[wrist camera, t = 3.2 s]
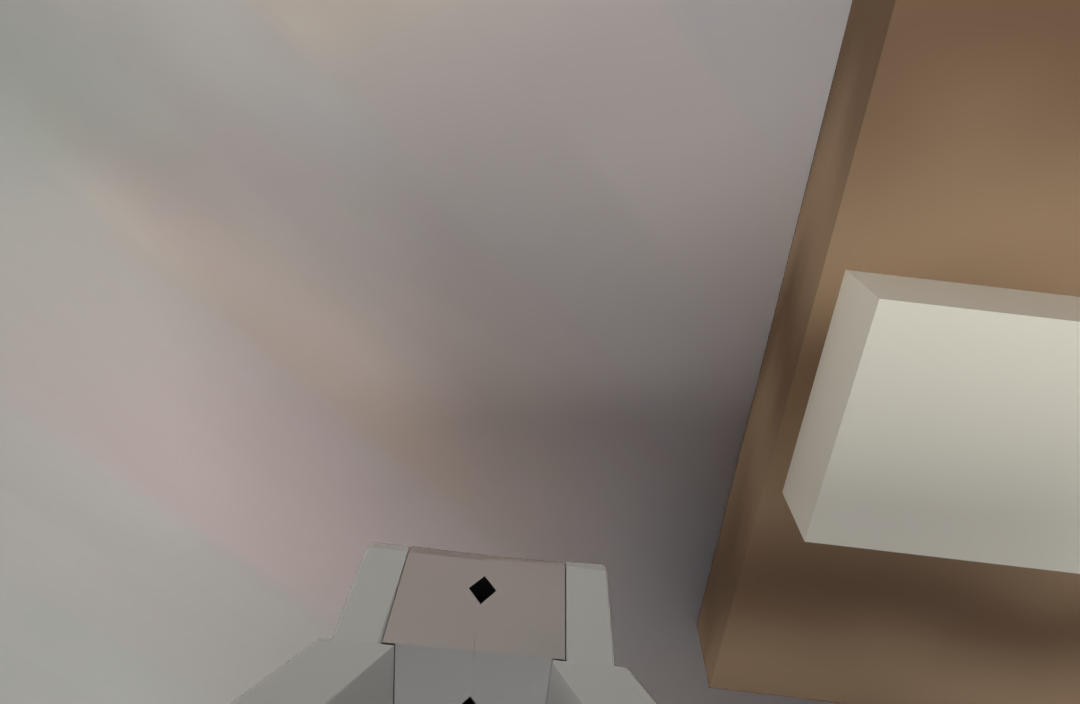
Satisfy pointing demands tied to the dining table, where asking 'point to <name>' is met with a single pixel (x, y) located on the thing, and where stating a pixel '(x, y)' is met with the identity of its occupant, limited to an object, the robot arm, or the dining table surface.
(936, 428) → the white flat block
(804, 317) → the wooden board
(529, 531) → the dining table surface
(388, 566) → the robot arm
